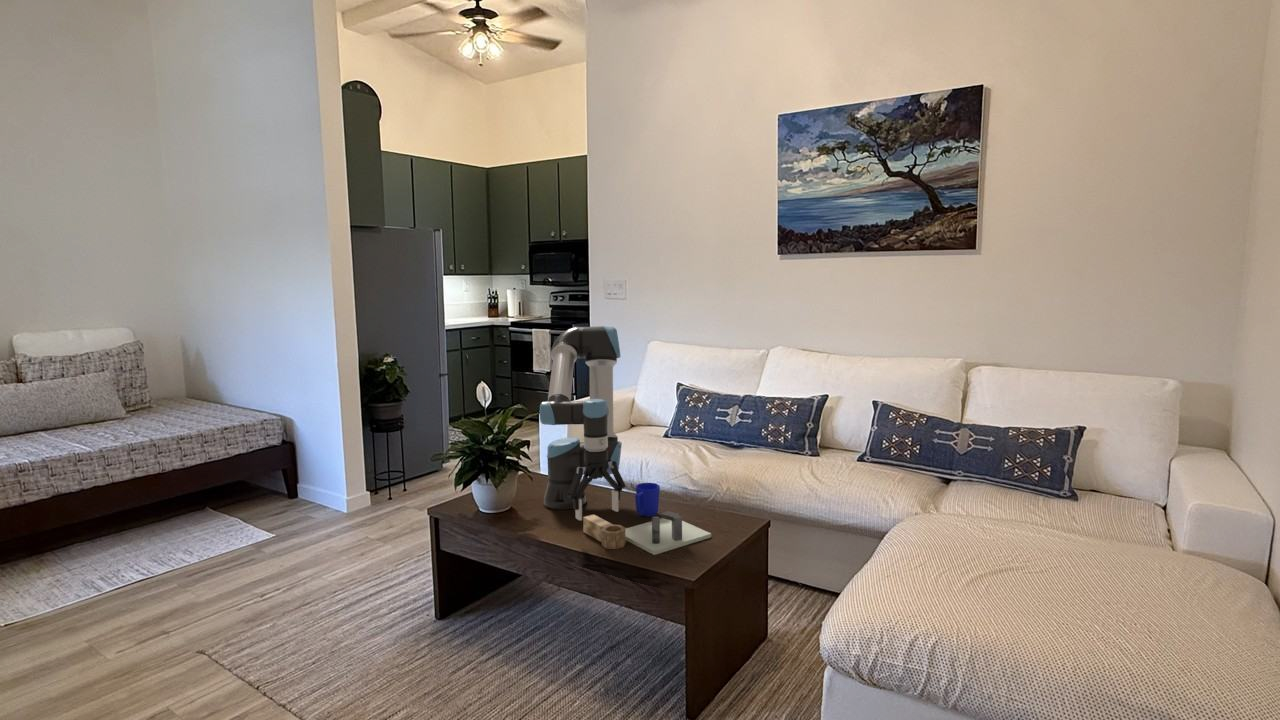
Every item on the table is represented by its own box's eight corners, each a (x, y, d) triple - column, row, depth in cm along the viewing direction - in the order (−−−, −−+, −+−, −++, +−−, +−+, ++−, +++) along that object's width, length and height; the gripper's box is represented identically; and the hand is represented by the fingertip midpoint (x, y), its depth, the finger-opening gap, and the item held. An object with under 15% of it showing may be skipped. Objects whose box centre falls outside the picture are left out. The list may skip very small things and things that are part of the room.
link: (579, 533, 223) (579, 518, 222) (597, 528, 227) (597, 513, 226) (610, 550, 208) (610, 534, 208) (629, 545, 212) (629, 529, 212)
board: (616, 534, 221) (616, 531, 221) (671, 519, 234) (671, 515, 234) (654, 555, 205) (654, 551, 205) (711, 537, 218) (711, 533, 218)
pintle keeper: (644, 542, 214) (644, 514, 213) (670, 535, 220) (670, 507, 219) (659, 550, 208) (659, 521, 207) (685, 542, 214) (685, 514, 213)
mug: (626, 519, 234) (626, 491, 233) (643, 508, 245) (642, 481, 243) (648, 523, 230) (647, 494, 229) (663, 512, 241) (663, 484, 240)
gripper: (567, 457, 206) (569, 526, 209) (635, 445, 221) (636, 509, 223) (555, 452, 212) (556, 519, 215) (622, 441, 227) (623, 504, 229)
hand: (597, 514), depth 219 cm, fingers open, 13 cm apart
